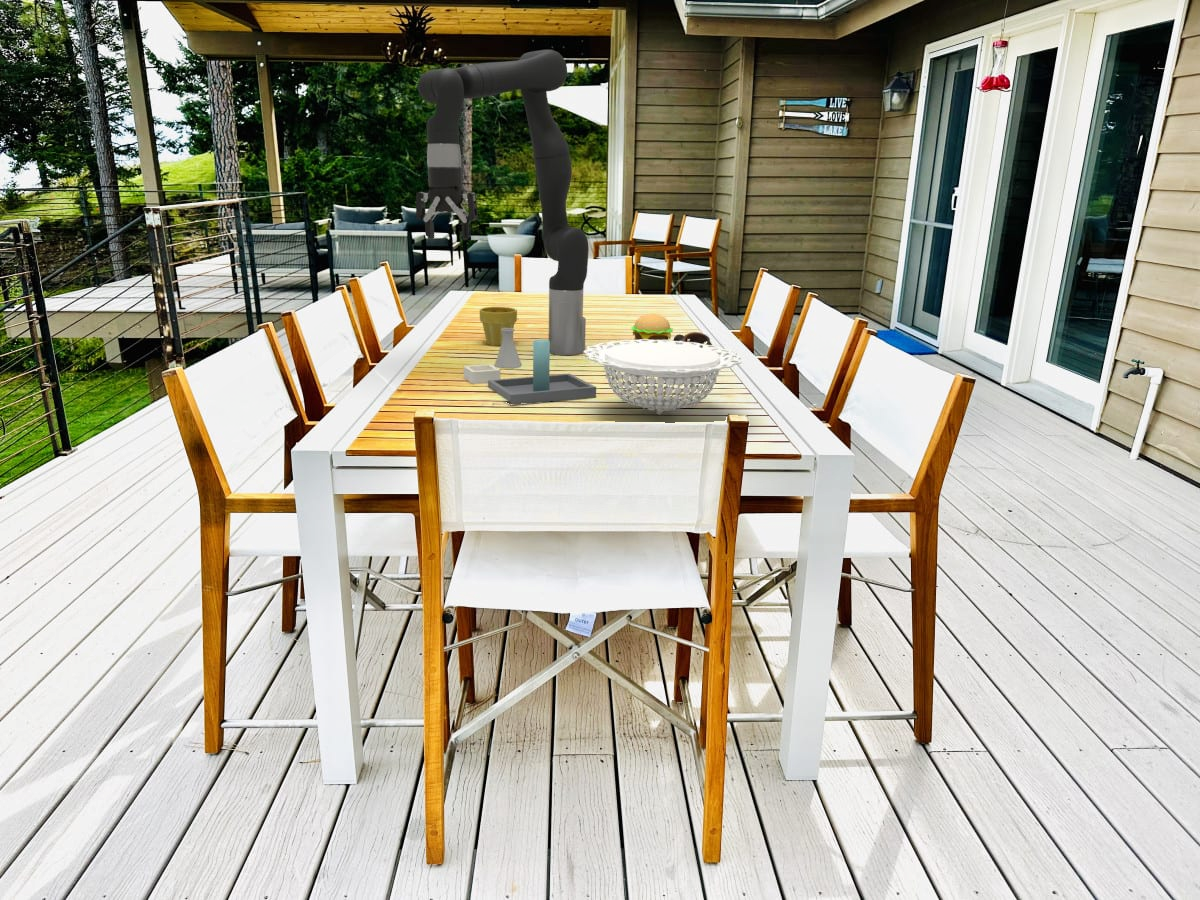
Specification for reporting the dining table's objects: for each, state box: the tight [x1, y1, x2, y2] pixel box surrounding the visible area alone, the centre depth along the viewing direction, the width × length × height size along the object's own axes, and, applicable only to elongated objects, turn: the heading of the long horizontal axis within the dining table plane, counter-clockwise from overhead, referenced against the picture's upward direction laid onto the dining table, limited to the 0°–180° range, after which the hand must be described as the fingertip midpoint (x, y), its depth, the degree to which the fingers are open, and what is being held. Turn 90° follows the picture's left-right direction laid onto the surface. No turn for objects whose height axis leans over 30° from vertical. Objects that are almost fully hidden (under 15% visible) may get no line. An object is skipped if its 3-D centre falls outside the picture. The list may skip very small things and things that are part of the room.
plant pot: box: [479, 306, 518, 346], centre depth 240 cm, size 10×10×10 cm
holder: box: [462, 363, 501, 385], centre depth 196 cm, size 7×7×4 cm
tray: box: [487, 373, 597, 405], centre depth 188 cm, size 20×14×2 cm
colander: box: [583, 339, 743, 415], centre depth 173 cm, size 32×32×13 cm
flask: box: [493, 328, 523, 370], centre depth 210 cm, size 7×7×10 cm
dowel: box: [532, 338, 551, 391], centre depth 187 cm, size 4×4×11 cm
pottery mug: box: [672, 331, 713, 348], centre depth 229 cm, size 12×10×8 cm
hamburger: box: [631, 313, 674, 343], centre depth 247 cm, size 12×12×9 cm
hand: (448, 239), depth 197 cm, fingers open, 8 cm apart
